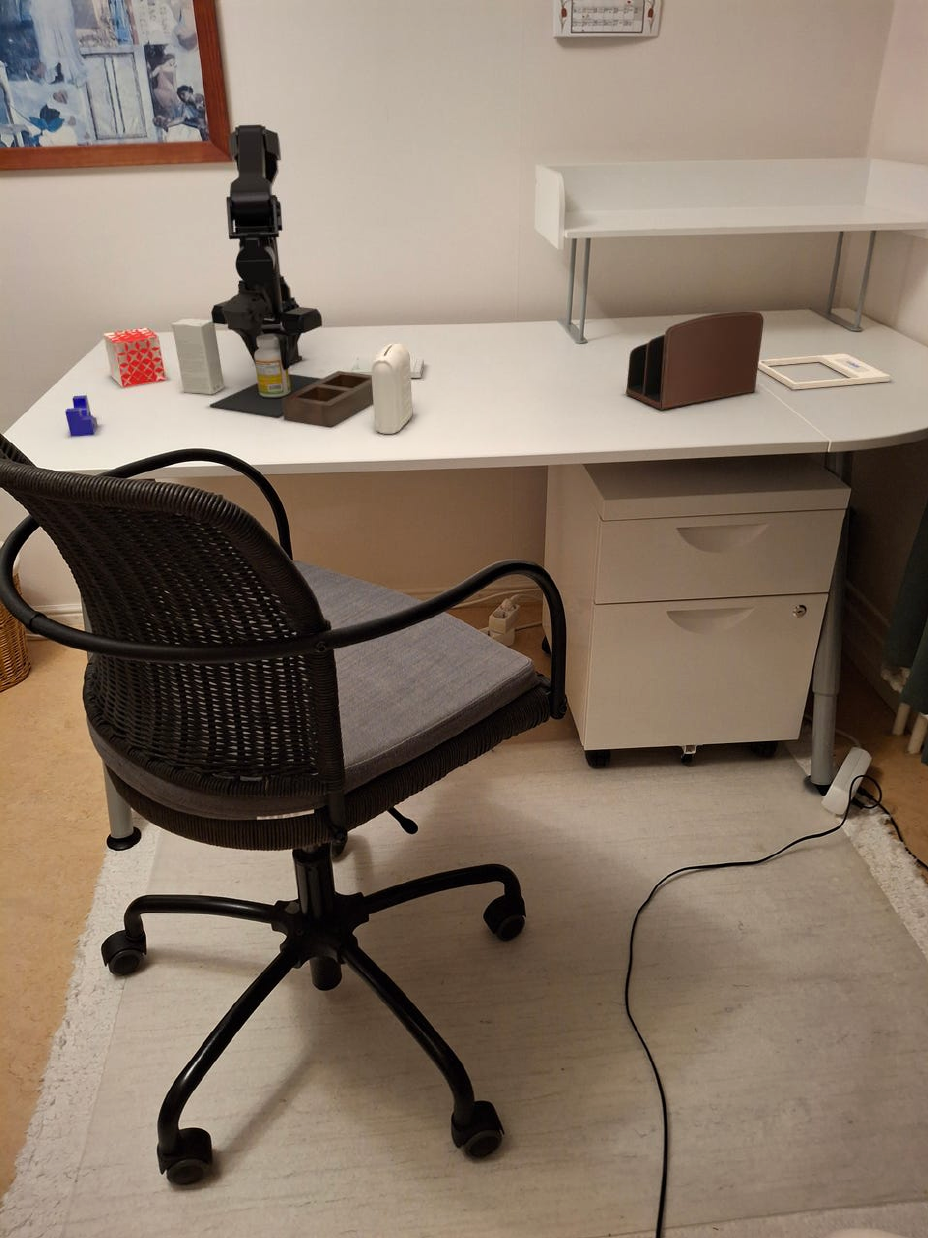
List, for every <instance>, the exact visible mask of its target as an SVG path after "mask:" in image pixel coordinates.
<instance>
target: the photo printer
mask: <svg viewBox="0 0 928 1238" xmlns="http://www.w3.org/2000/svg"><path fill="white" fill-rule="evenodd" d="M373 359H374V361H373V364H372V387H373V402H374V403H373V415H374V416H373V417H374V427H375V431H376V432H378V433H380V434H388V435H391V434H395V433H397V432H399V431H400V430H402V428H403V427H404V426H405V425H406V424H407V423H408V421H410V419H411V418H412V415H413V393H412V392H413V391H412V378H411V371H410V359H411V355H410V352H409V350H408V348H407V347H406V346H405V345H404V344H402V343H393V342H392V343H388V344H386V345H384V346H383V347H382V348H381V349H380V350H379V352H377V354H376V356H375V357H374V358H373Z"/></svg>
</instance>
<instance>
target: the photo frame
mask: <svg viewBox="0 0 928 1238" xmlns="http://www.w3.org/2000/svg"><path fill="white" fill-rule="evenodd" d="M819 362H820V363H821V364H823V365H825V366H828V367H829V368H831V369H833V370H835V371H836V372H838V373H840V374H842V375H844V376H845V377H847V378H836V379H825V380H811V381H802V382H801V381H799V382H796V381H793V380H792V379H791V378H789V377H787V376H785V375H784V374H782V373H780V372H778V370H775V369H773V368H772V367H770V366H782V365H796V364H805V363H806V364H808V363H819ZM758 369H759V370H760V371H762V372H763V373H765V374H766V375H768V376H770V377H772V378H773V379H775V380H776V381H779V382H780V383H782V384H783V385H785V386H787V387H788V388H790V389H791V390H802V389H803V390H804V389H814V388H815V389H816V388H827V387H840V386H849V385H851V386H852V385H861V384H862V385H863V384H873V383H874V384H875V383H886V382H890V380H891V379H890V378H891V375H889V374H887V373H886V372H884V371H881V370H879V369H877V368H875V367H873V366H871V365H869V364H867V363H865V362H863V361H861V360H859V359H857V358H855V357H853V356H851V355H849V354H847V353H835V354H823V355H810V356H797V357H785V358H784V357H783V358H774V359H773V358H772V359H762V360H761V359H759V362H758Z"/></svg>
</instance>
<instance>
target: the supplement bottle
mask: <svg viewBox="0 0 928 1238" xmlns="http://www.w3.org/2000/svg"><path fill="white" fill-rule="evenodd" d="M256 339H257V346H258V347H259V349H258V350H256V352H255V354H254V357H255V363H254V365H255V372H256V379H257V383H258V387H259V393H260V395H261V396H263V397H268V398H277V397H283V396H286V395H288V394H289V393H290V391H291V389H290V380H289V374H290V371H289V369H287V370H284V369H283V366H282V361H281V353H280V345H279V340H278V338H277V337H276V336H275V335H274V334H265V335H260V336H258V337H257V338H256Z"/></svg>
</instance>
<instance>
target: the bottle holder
mask: <svg viewBox="0 0 928 1238" xmlns="http://www.w3.org/2000/svg"><path fill="white" fill-rule="evenodd" d="M371 405H374V402H373V387H372V375H366V374H358V373H352V371H350V372H349V371H342V370H336V371H335V372H332V373H331V374H329V375H327V376H325V377H323V378H321V380H319V381H317V382H315V383H313V384H311V385H309V386H307V387H305V388H303V389H301V390H299V391H297V392H295V393H293V394H290V395H288V396H286V397H284V398H282V407H283V420H284V421H289V422H296V423H301V424H307V425H313V426H321V427H327V428H333V427H334V426H337V425H338V424H340V423H342V422H344V421H345V420H347V419H349V418H351V417H352V416H353V415H356V414H358V413H360V412H361V411H362V410H363V411H364V409H366V408H368V407H370V406H371Z"/></svg>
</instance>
